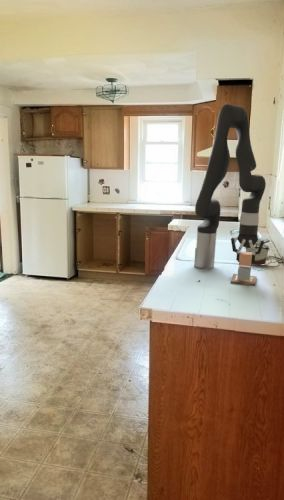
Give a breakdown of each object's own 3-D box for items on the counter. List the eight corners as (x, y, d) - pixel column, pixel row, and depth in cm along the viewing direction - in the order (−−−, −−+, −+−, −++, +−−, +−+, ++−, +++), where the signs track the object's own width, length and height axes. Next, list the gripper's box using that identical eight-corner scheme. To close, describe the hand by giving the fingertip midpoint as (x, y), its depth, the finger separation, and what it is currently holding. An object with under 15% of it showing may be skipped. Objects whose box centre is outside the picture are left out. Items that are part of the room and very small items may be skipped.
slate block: (237, 279, 161) (238, 268, 160) (238, 276, 166) (239, 265, 165) (249, 280, 160) (250, 269, 158) (250, 277, 164) (251, 266, 163)
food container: (265, 262, 197) (267, 243, 195) (268, 265, 191) (270, 246, 189) (241, 261, 198) (243, 242, 196) (243, 264, 192) (245, 245, 190)
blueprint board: (230, 283, 159) (230, 280, 159) (233, 275, 170) (233, 273, 170) (255, 286, 156) (255, 283, 155) (256, 278, 167) (256, 276, 167)
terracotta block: (238, 265, 160) (239, 253, 159) (239, 262, 164) (240, 251, 163) (250, 266, 158) (251, 255, 157) (251, 263, 163) (252, 252, 162)
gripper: (230, 223, 156) (227, 262, 160) (266, 225, 152) (262, 266, 155) (232, 220, 163) (229, 258, 167) (267, 223, 159) (263, 262, 162)
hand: (245, 262), depth 161 cm, fingers closed on terracotta block, 5 cm apart
